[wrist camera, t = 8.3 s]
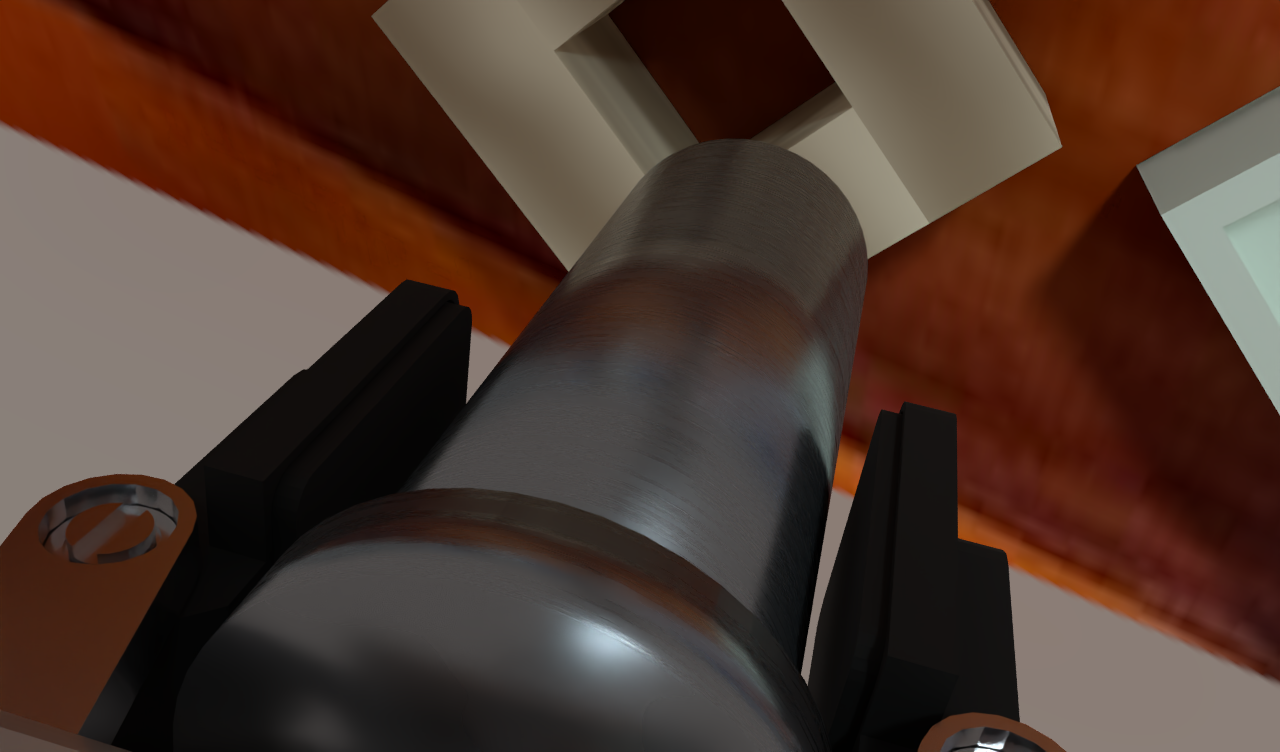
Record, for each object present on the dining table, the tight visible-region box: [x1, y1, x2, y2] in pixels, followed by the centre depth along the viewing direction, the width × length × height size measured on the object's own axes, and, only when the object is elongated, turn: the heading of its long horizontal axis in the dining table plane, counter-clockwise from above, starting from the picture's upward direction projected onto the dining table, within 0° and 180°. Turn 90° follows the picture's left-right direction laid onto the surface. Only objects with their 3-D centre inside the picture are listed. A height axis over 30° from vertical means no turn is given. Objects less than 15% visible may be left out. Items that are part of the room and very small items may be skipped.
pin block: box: [371, 0, 1062, 272], centre depth 28 cm, size 12×12×5 cm
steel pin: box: [173, 139, 868, 752], centre depth 12 cm, size 5×5×11 cm
